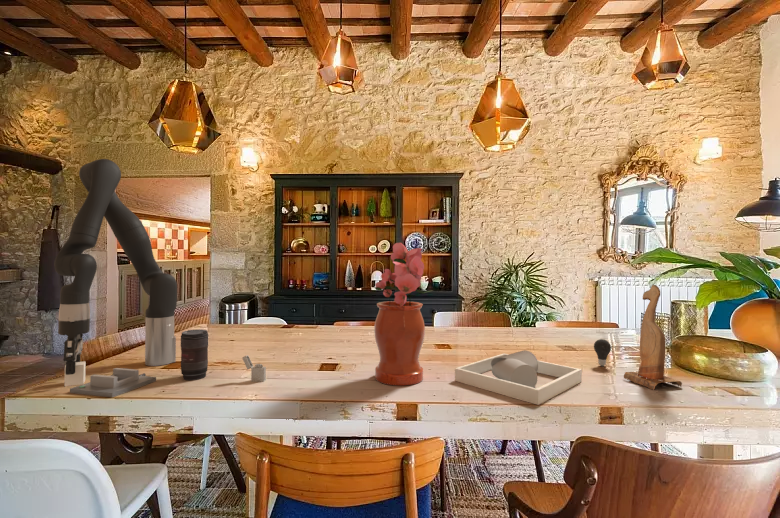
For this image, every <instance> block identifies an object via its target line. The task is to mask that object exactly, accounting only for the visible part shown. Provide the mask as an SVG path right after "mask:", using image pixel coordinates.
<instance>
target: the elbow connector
mask: <svg viewBox="0 0 780 518" xmlns="http://www.w3.org/2000/svg"><path fill="white" fill-rule="evenodd" d="M491 366H492V370H490V371H491V374H492V375H493V377H494V378H498V379H502V380H506V381H510V382H514V383H517V384H521V385H525V386H529V387H533V388H536V385H537V383H538V374H537V370H538V358H537V357H536V355H535V354H534V353H533V352H531V351H530V350H525V349H524V350H521V351H517V352H513V353H509V355H505V356H501V357H498V358H495V359H493V360H492V361H491Z"/></svg>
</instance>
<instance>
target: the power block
mask: <svg viewBox="0 0 780 518" xmlns="http://www.w3.org/2000/svg"><path fill="white" fill-rule="evenodd" d="M139 373H140V371H139V369H133V368H124V367H123V368H122V367H116V368H115V367H114V368H112V375H111V374H110V375H105V374H104V375H103V374H90V376H89V377H90V379H89V381H90V382H86V383H84V384H80V385H76V386H74V387H70V388H69V394H79V395H87V396H96V397H106V398H114V397H117V396H120V395H123V394H125V393H128V392H131V391H133V390H136V389H138V388H141V387H144V386H146V385H149V384H152V383H154V382H156V381H157V376H150V375H149V376H147V375H146V373H141V374H139Z"/></svg>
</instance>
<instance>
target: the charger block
mask: <svg viewBox="0 0 780 518" xmlns="http://www.w3.org/2000/svg"><path fill="white" fill-rule="evenodd" d="M86 364H87V363H86V361H84V360H83V361H80V362H76V367H75V373H74V374H70V375H66V365H65V366H64V387H70V386H71V387H72V386H80V385H83V384H85V382H86V369H87V368H86Z"/></svg>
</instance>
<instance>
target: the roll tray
mask: <svg viewBox="0 0 780 518" xmlns="http://www.w3.org/2000/svg"><path fill="white" fill-rule="evenodd" d="M509 354H510V353H509ZM509 354H508V353H501V354H498V355H494V356H491V357H487V358H484V359H481V360H478V361H474V362H472V363H468V364H465V365H461V366H458V367H455V368H454V381H455V382H458V383H461V384H465V385H468V386H471V387H475V388H479V389H482V390H486V391H490V392H493V393H496V394H499V395H503V396H506V397H509V398H513V399H517V400H520V401H523V402H527V403H530V404H534V405H537V406H539V405H542V404H543V403H545V402H547V401H548V400H550V399H552V398H554V397H556V396H557V395H559V394H561V393H563V392H565V391H567V390H568V389H571V388H573V387H574V386H576V385H577V384H580V383H582V381H583V380H582V376H583V375H582V368H577V367H572V366H568V365H563V364H557V363H553V362H547V361H543V360H538V359H537V360H538V370H537V372H536V373H538V374H542V375H547V376H551V377H556V379H554V380H552V381H549V382H547V383H545V384H543V385H541V386H538V387H537V388H536V387H534V388H533V387H529V386H525V385H521V384H517V383H514V382H510V381H506V380H502V379H498V378H497V377H495V376H490V375H487V374H483V373H485V372H489V371H491V370H492V366H491V361H492V360H493V359H495V358H498V357H501V356H505V355H509Z"/></svg>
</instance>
